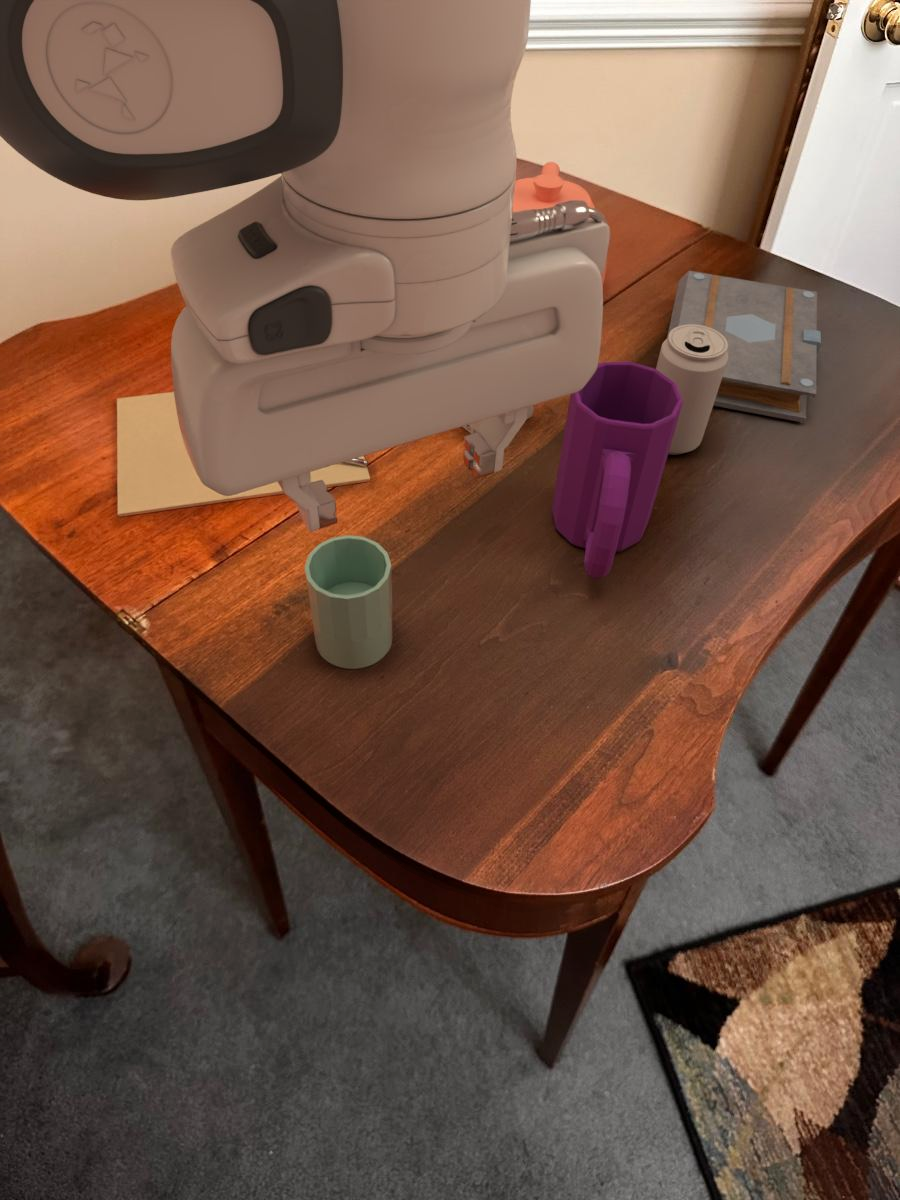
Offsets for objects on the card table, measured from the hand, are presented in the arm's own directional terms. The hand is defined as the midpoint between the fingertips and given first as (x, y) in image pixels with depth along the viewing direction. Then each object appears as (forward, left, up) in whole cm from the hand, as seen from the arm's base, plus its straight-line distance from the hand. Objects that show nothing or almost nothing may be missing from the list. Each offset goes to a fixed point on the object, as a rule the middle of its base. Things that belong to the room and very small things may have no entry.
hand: (402, 493), depth 45 cm
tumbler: (-2, +12, -27) cm, 30 cm away
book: (+49, +43, -27) cm, 70 cm away
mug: (+22, +18, -27) cm, 39 cm away
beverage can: (+35, +31, -27) cm, 54 cm away
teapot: (+30, +62, -27) cm, 74 cm away
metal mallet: (+3, +33, -26) cm, 42 cm away
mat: (-9, +40, -27) cm, 49 cm away
